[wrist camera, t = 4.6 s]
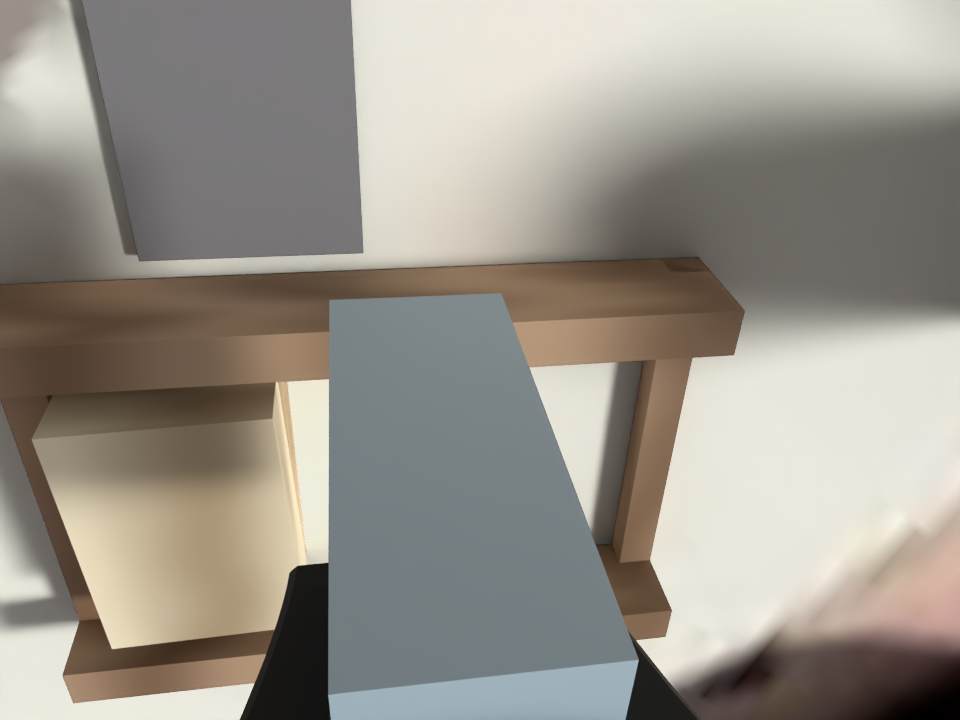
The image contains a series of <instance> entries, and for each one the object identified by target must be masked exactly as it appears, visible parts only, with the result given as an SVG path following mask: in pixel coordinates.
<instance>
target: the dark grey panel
mask: <svg viewBox="0 0 960 720" xmlns="http://www.w3.org/2000/svg"><path fill="white" fill-rule="evenodd" d="M82 3H83V7H84V12H85V17H86V21H87V26H88V30H89V35H90V40H91V44H92V49H93V53H94V58H95V62H96V67H97V72H98V76H99V81H100V85H101V90H102V94H103V99H104V104H105V108H106V113H107V117H108V122H109V127H110V131H111V136H112V140H113V145H114V149H115V154H116V159H117V163H118V168H119V172H120V177H121V182H122V186H123V191H124V195H125V200H126V204H127V209H128V214H129V218H130V223H131V227H132V232H133V236H134V241H135V246H136V250H137V255H138V259H139V261H160V260H188V259H215V258H243V257H270V256H298V255H325V254H353V253H363V236H362V216H361V196H360V176H359V156H358V136H357V116H356V96H355V76H354V57H353V37H352V17H351V0H82Z"/></svg>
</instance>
